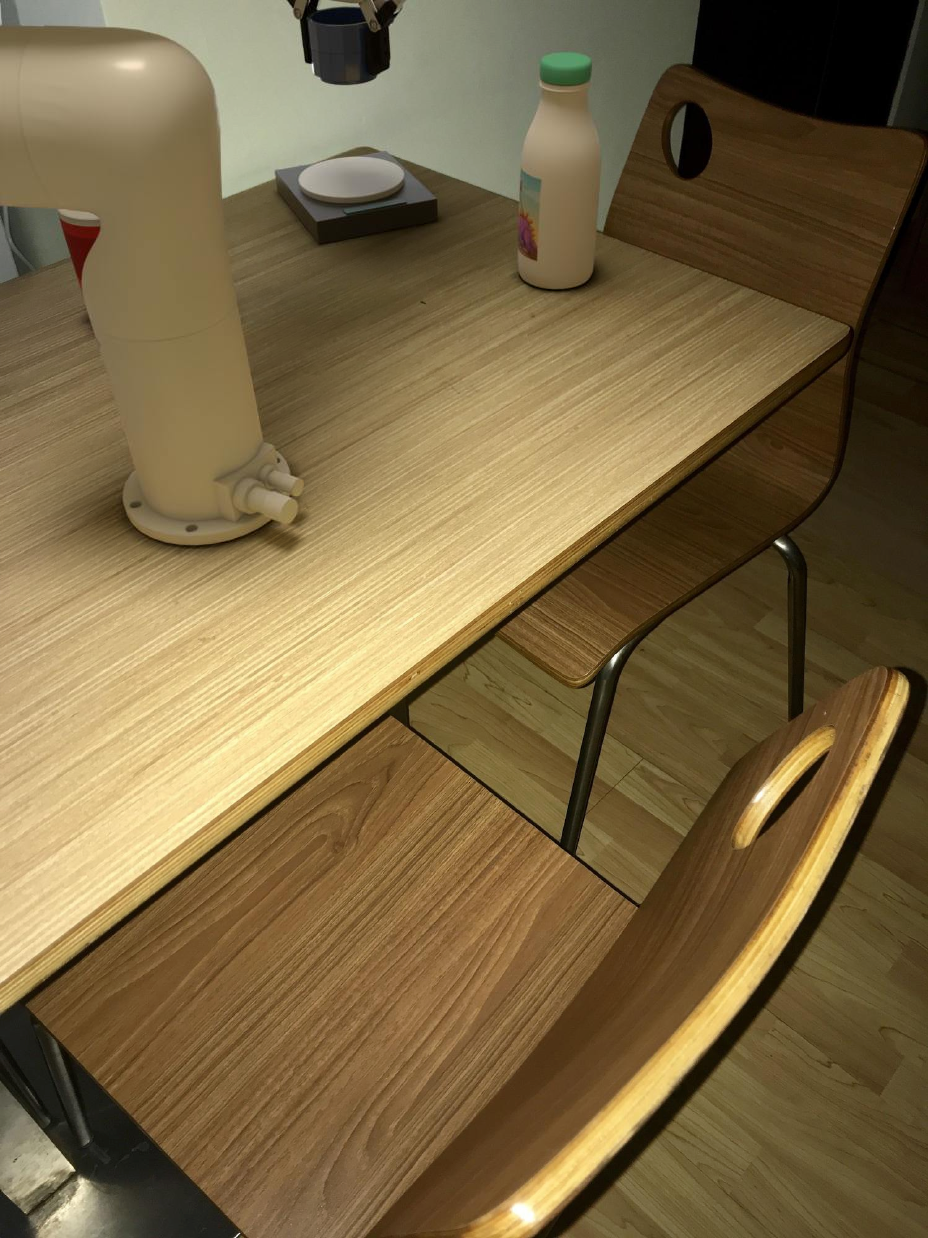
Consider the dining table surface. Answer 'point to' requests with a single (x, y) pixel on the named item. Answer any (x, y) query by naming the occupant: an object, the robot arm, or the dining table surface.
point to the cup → (339, 45)
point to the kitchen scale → (355, 196)
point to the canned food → (79, 236)
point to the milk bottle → (560, 179)
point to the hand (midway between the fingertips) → (347, 64)
